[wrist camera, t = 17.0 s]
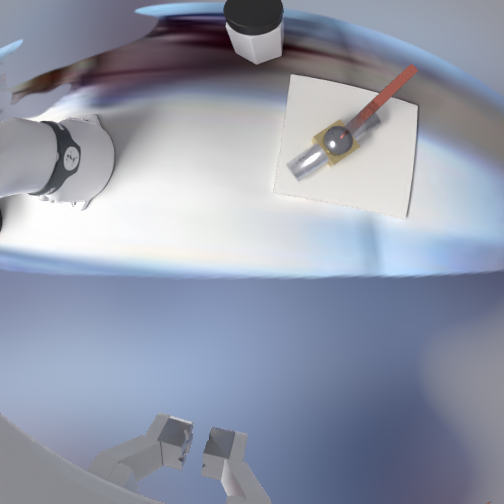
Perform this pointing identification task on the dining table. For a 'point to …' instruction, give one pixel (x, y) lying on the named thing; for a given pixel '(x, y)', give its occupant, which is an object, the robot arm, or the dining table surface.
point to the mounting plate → (358, 162)
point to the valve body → (321, 154)
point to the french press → (0, 220)
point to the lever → (363, 116)
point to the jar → (255, 28)
